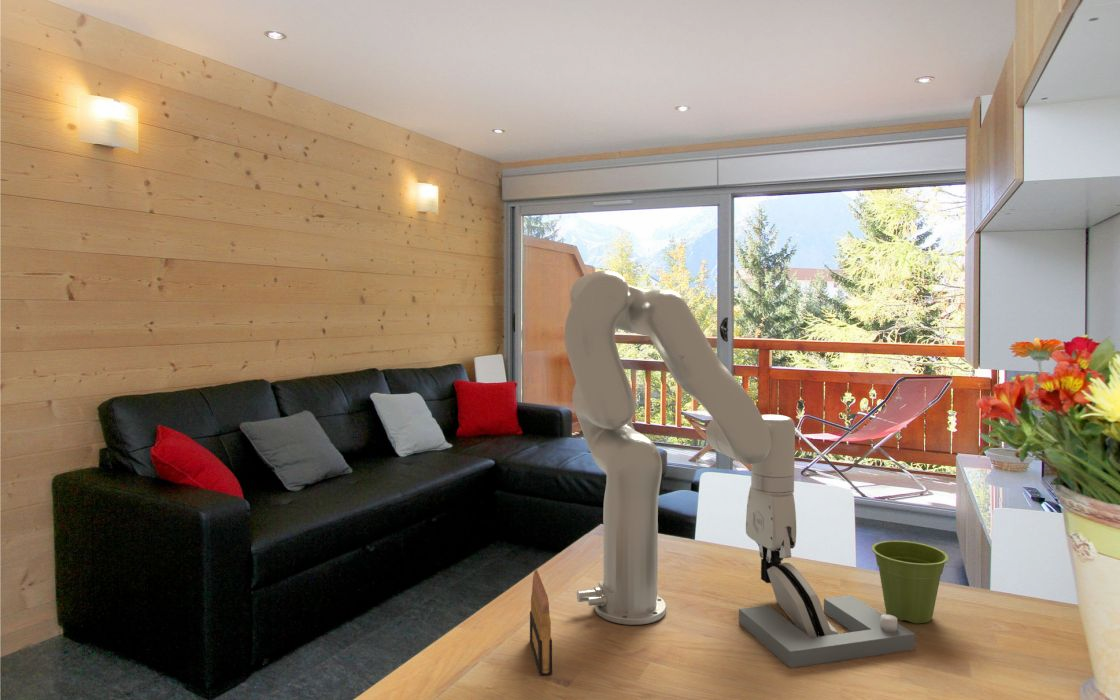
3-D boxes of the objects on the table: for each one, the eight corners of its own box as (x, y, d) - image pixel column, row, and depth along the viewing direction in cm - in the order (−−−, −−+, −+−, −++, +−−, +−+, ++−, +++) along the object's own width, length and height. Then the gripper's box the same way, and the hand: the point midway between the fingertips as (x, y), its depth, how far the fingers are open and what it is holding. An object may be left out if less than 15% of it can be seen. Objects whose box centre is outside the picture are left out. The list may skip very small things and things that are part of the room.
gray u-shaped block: (790, 668, 100) (790, 639, 100) (738, 623, 114) (739, 598, 114) (914, 649, 105) (915, 622, 105) (850, 608, 120) (851, 585, 120)
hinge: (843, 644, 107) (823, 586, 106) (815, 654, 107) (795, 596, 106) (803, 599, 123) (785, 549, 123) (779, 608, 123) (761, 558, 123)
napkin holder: (552, 675, 98) (552, 594, 97) (539, 676, 98) (539, 595, 97) (541, 640, 109) (541, 566, 108) (529, 641, 108) (529, 567, 108)
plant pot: (891, 595, 126) (893, 535, 125) (959, 618, 116) (961, 554, 115) (856, 611, 119) (858, 548, 118) (925, 637, 109) (927, 569, 109)
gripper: (733, 474, 130) (732, 568, 131) (777, 494, 115) (775, 599, 116) (767, 472, 132) (766, 564, 133) (815, 491, 117) (813, 594, 118)
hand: (770, 580), depth 125 cm, fingers closed
